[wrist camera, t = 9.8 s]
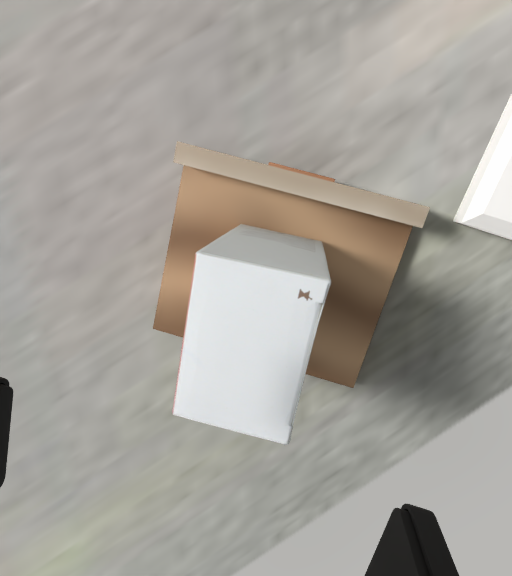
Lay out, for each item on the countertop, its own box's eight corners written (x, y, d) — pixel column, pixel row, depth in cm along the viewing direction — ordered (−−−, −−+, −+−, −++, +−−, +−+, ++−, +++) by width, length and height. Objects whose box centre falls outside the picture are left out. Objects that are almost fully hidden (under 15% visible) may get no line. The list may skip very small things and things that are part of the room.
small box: (240, 222, 25) (193, 245, 15) (324, 240, 25) (334, 276, 15) (220, 333, 27) (167, 417, 17) (296, 351, 27) (288, 450, 17)
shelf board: (351, 381, 28) (356, 403, 25) (158, 323, 29) (141, 338, 26) (417, 201, 24) (431, 203, 21) (192, 143, 25) (177, 137, 22)
